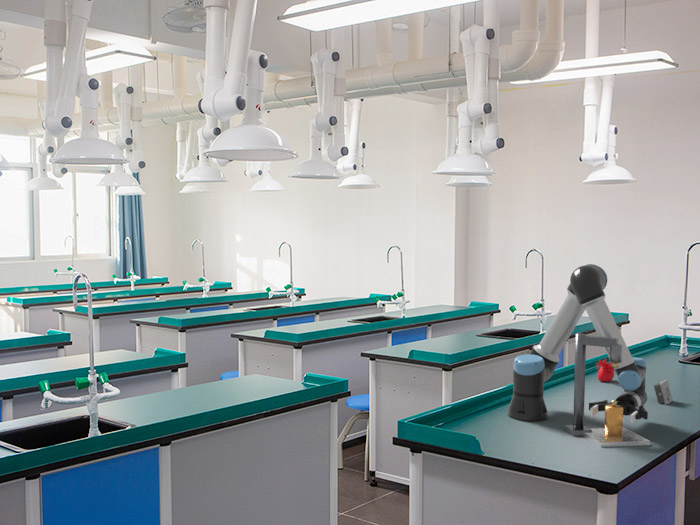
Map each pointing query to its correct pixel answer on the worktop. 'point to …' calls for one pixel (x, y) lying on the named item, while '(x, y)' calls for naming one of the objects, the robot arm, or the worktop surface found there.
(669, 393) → the electrical switch
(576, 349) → the arbor press
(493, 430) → the worktop surface
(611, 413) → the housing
